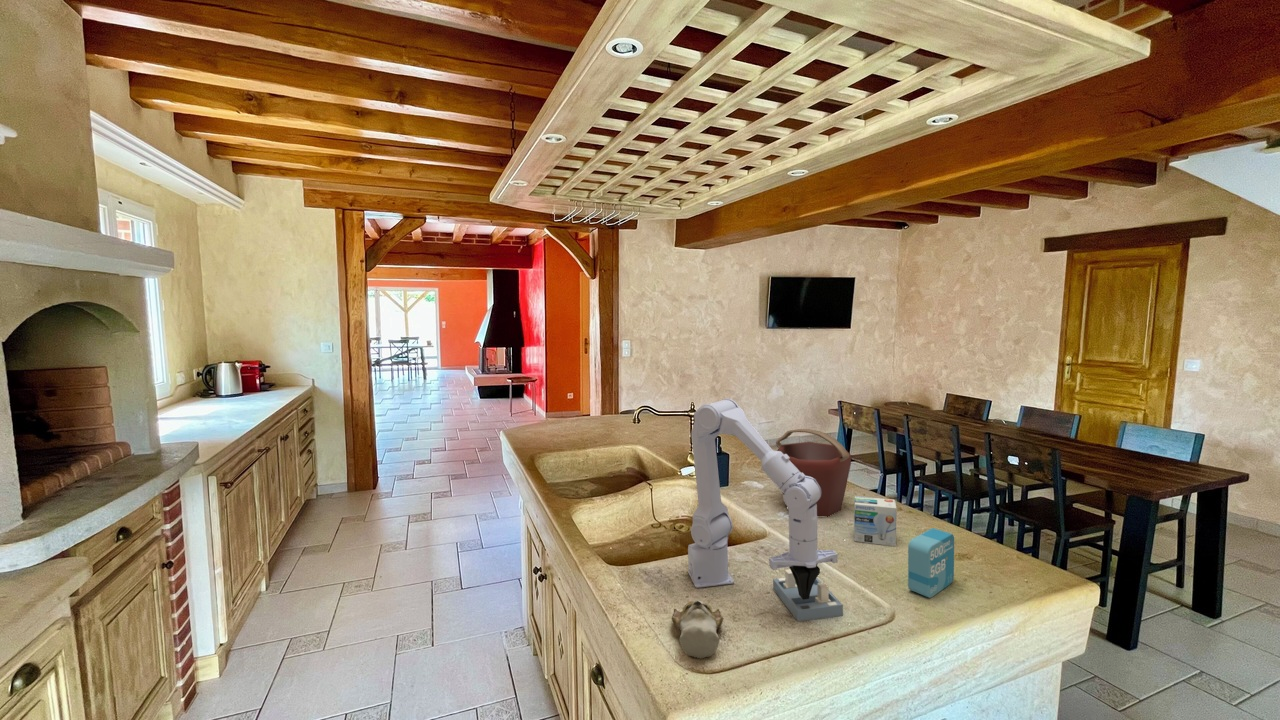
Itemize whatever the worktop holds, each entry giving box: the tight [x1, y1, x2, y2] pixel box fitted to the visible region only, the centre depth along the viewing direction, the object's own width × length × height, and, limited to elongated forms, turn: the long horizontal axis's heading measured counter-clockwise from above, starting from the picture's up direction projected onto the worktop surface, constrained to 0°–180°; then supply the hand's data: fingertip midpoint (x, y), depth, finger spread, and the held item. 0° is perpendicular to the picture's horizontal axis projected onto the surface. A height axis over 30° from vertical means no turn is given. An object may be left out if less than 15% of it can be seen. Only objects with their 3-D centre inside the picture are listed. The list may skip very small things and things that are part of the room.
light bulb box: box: [853, 495, 898, 547], centre depth 143 cm, size 11×7×11 cm, turn 68°
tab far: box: [783, 568, 797, 589], centre depth 118 cm, size 3×2×4 cm
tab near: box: [815, 582, 831, 604], centre depth 111 cm, size 3×2×4 cm
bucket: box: [775, 428, 852, 518], centre depth 167 cm, size 24×22×25 cm
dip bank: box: [772, 577, 844, 623], centre depth 115 cm, size 10×13×2 cm
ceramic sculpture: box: [671, 600, 724, 659], centre depth 103 cm, size 11×9×15 cm
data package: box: [907, 527, 955, 599], centre depth 118 cm, size 12×4×12 cm, turn 125°
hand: (803, 596), depth 111 cm, fingers closed
